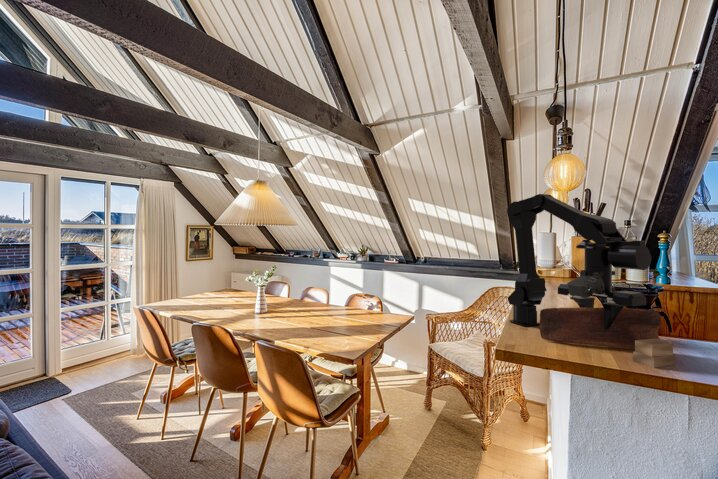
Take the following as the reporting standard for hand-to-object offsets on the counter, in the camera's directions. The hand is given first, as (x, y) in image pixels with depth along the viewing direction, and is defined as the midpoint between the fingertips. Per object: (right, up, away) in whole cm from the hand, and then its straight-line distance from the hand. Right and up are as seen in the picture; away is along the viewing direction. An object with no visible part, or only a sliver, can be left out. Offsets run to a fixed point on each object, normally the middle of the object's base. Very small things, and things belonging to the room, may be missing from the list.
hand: (597, 327), depth 84 cm
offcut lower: (+4, -5, -11) cm, 13 cm away
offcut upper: (+4, -3, -11) cm, 12 cm away
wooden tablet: (0, -5, 0) cm, 5 cm away
